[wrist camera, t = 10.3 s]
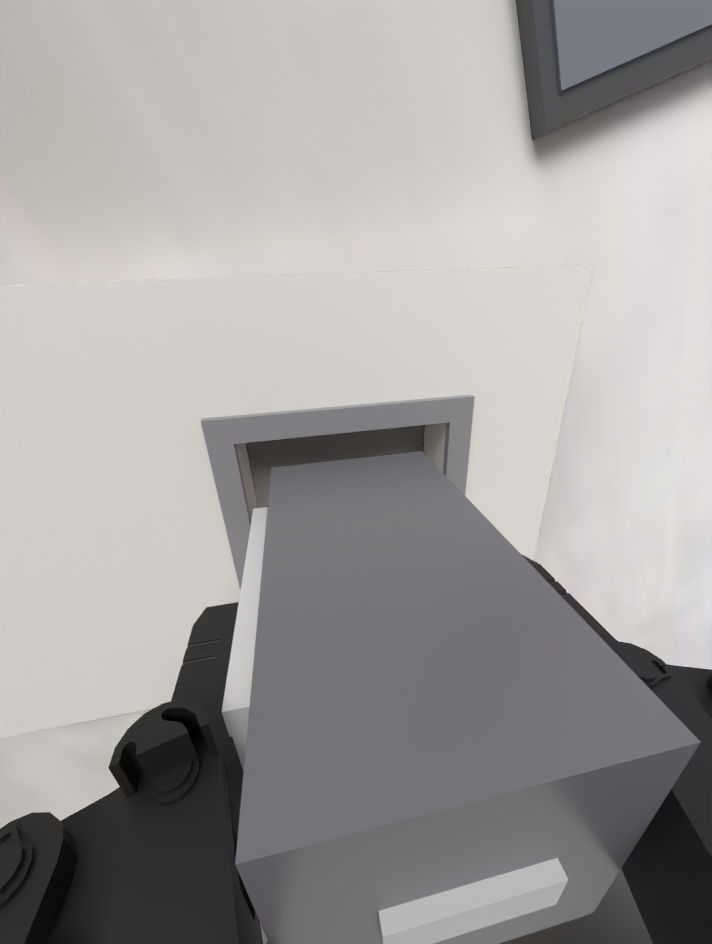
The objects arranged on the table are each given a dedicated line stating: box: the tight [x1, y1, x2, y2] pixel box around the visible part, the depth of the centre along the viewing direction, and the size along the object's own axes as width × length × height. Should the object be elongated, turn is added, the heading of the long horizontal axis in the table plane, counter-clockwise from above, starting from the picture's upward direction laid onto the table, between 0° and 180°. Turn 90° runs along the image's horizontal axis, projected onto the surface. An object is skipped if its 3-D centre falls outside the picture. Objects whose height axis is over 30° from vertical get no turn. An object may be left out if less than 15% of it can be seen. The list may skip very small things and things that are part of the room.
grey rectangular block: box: [235, 451, 701, 944], centre depth 9 cm, size 5×5×9 cm
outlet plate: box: [0, 264, 594, 738], centre depth 13 cm, size 24×16×2 cm, turn 92°
